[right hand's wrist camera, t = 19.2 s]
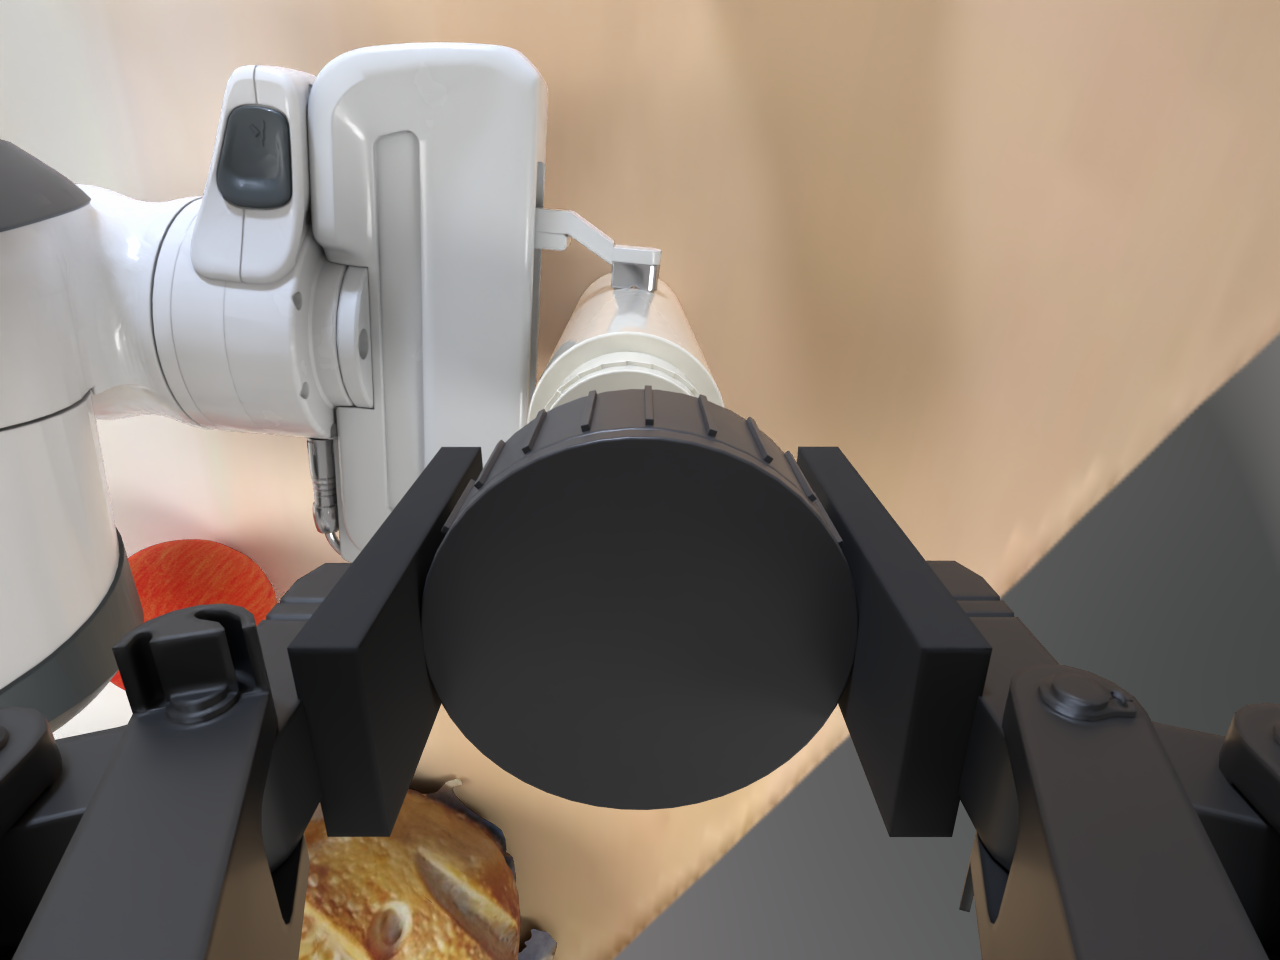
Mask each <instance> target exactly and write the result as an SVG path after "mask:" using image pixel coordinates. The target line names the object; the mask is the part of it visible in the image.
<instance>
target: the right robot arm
mask: <svg viewBox="0 0 1280 960" xmlns="http://www.w3.org/2000/svg"><path fill="white" fill-rule="evenodd" d="M797 464H798V466H799V468H800V469H801V471H802V473H803V475H804V476H805V478H806V480H807V482H808V483H809V485H810V487H811V489H812V490H813V492H815V494H816V495H817V497H818V499H819V501H820V502H821V504H822V506H823V507H824V509H825V511H826V513H827V514H828V516H829V518H830V520H831V521H832V523H833V525H834V527H835V528H836V530H837V532H838V533H839V535H840V537H841V539H842V540H843V543H844V545H845V547H842V548H841V550H842V552H843V554H844V556H845V558H846V560H847V562H848V565H849V569H850V572H851V575H852V578H853V581H854V585H855V589H856V595H857V602H858V609H859V627H858V637H857V644H856V651H855V659H854V664H853V667H852V670H851V674H850V677H849V680H848V683H847V685H846V687H845V689H844V692H843V694H842V696H841V698H840V700H839V702H838V704H839V707H840V709H841V712H842V715H843V717H844V720H845V722H846V725H847V728H848V730H849V733H850V735H851V738H852V740H853V743H854V746H855V748H856V751H857V753H858V756H859V759H860V761H861V764H862V766H863V769H864V771H865V774H866V777H867V779H868V782H869V785H870V787H871V790H872V792H873V795H874V797H875V800H876V803H877V805H878V808H879V810H880V813H881V816H882V818H883V821H884V823H885V826H886V829H887V831H888V834H889V836H890V837H952V834H953V830H954V825H955V820H956V816H957V811H958V806H959V802H960V800H961V802H962V804H963V806H964V808H965V809H966V811H967V813H968V815H969V817H970V819H971V821H972V823H973V825H974V827H975V828H976V835H975V839H974V843H973V848H972V852H971V856H970V861H969V865H968V869H967V874H966V878H965V882H964V887H963V891H962V896H961V902H960V910H963V911H967V912H970V908H971V904H972V900H973V896H974V898H975V906H976V915H977V923H978V931H979V940H980V948H981V956H982V960H1280V705H1279V704H1272V703H1261V704H1251V705H1246V706H1244V707H1243V708H1241V709H1240V710H1238V711H1237V712H1235V714H1234V716H1233V719H1232V722H1231V724H1230V727H1229V730H1228V732H1227V735H1226V737H1224V736H1219V735H1214V734H1209V733H1204V732H1199V731H1194V730H1189V729H1184V728H1179V727H1174V726H1169V725H1164V724H1160V723H1156V722H1153V721H1151V719H1150V717H1149V715H1148V713H1147V712H1146V711H1145V710H1144V708H1143V707H1142V706H1141V704H1140V703H1139V702H1138V701H1137V699H1136V698H1135V697H1134V696H1132V695H1131V694H1129V693H1128V692H1127V691H1125V690H1124V689H1122V688H1121V687H1119V686H1118V685H1117V684H1115V683H1113V682H1111V681H1109V680H1107V679H1104V678H1102V677H1100V676H1098V675H1096V674H1093V673H1091V672H1088V671H1085V670H1081V669H1077V668H1073V667H1069V666H1065V665H1060V664H1059V663H1058V662H1057V661H1056V660H1055V659H1054V658H1053V657H1052V655H1051V654H1050V653H1049V652H1048V651H1047V650H1046V649H1045V648H1044V646H1043V645H1042V644H1041V643H1040V642H1039V641H1038V640H1037V638H1036V637H1035V636H1034V635H1033V634H1032V633H1031V632H1030V631H1029V629H1028V628H1027V627H1026V626H1025V625H1024V624H1023V623H1022V621H1021V620H1020V619H1019V618H1018V617H1014V613H1013V611H1012V610H1011V609H1010V608H1009V607H1008V606H1007V604H1006V603H1005V602H1004V601H1000V597H999V595H998V594H997V593H996V592H995V591H994V590H993V589H992V588H991V586H990V585H989V584H988V583H987V582H986V581H985V580H984V578H983V577H981V576H979V575H978V574H976V573H974V572H973V571H971V570H969V569H968V568H966V567H964V566H962V565H961V564H959V563H957V562H956V561H925V559H924V558H923V557H922V556H921V554H920V553H919V552H918V550H917V549H916V548H915V546H914V545H913V544H912V543H911V541H910V540H909V539H908V537H907V536H906V535H905V533H904V532H903V531H902V530H901V528H900V527H899V526H898V524H897V523H896V522H895V520H894V519H893V518H892V517H891V515H890V514H889V513H888V511H887V510H886V509H885V507H884V506H883V505H882V504H881V502H880V501H879V500H878V498H877V497H876V496H875V494H874V493H873V492H872V491H871V489H870V488H869V487H868V485H867V484H866V483H865V481H864V480H863V479H862V478H861V476H860V475H859V474H858V472H857V471H856V470H855V468H854V467H853V466H852V465H851V463H850V462H849V461H848V459H847V458H846V457H845V455H844V454H843V453H842V452H841V450H840V449H839V448H838V447H798V457H797ZM482 470H483V463H482V451H481V447H441V448H440V450H439V451H438V452H437V454H436V455H435V456H434V457H433V459H432V460H431V461H430V463H429V464H428V465H427V467H426V468H425V469H424V470H423V472H422V473H421V474H420V476H419V477H418V478H417V480H416V481H415V482H414V483H413V485H412V486H411V487H410V489H409V490H408V491H407V493H406V494H405V495H404V496H403V498H402V499H401V500H400V502H399V503H398V504H397V506H396V507H395V508H394V509H393V511H392V512H391V513H390V515H389V516H388V517H387V519H386V520H385V521H384V522H383V524H382V525H381V526H380V528H379V529H378V530H377V532H376V533H375V534H374V535H373V537H372V538H371V539H370V541H369V542H368V543H367V545H366V546H365V547H364V548H363V550H362V551H361V552H360V554H359V555H358V556H357V558H356V559H355V560H354V561H353V563H325V564H323V565H322V566H320V567H318V568H317V569H315V570H313V571H311V572H310V573H308V574H306V575H305V576H303V577H301V578H300V579H298V580H297V581H296V582H295V583H294V584H293V585H292V587H291V588H290V589H289V590H288V591H287V592H286V593H285V595H284V596H283V597H282V598H281V599H280V603H277V604H276V605H275V606H274V607H273V608H272V609H271V611H270V612H269V613H268V614H267V615H266V620H262V621H261V622H260V623H259V624H258V625H257V627H256V622H255V618H254V615H253V614H252V613H251V612H249V611H248V610H246V609H245V608H244V607H241V606H235V605H230V604H207V605H197V606H193V607H188V608H184V609H179V610H175V611H172V612H169V613H166V614H164V615H161V616H159V617H156V618H153V619H151V620H148V621H146V622H145V623H143V624H141V625H140V626H138V627H136V628H135V629H133V630H131V631H130V632H128V633H126V634H125V635H124V636H123V637H122V638H121V639H120V640H119V641H118V642H117V643H116V644H115V645H114V647H113V648H112V650H113V654H114V657H115V660H116V663H117V666H118V669H119V672H120V675H121V678H122V681H123V685H124V688H125V691H126V694H127V697H128V700H129V703H130V706H131V709H132V712H133V715H132V717H131V719H130V721H129V723H128V725H125V726H121V727H117V728H112V729H107V730H102V731H97V732H92V733H87V734H82V735H77V736H72V737H67V738H62V739H57V740H55V739H54V737H53V734H52V731H51V729H50V726H49V723H48V721H47V718H46V716H45V715H43V714H42V713H40V712H39V711H37V710H36V709H34V708H26V707H15V706H11V707H5V708H0V960H298V958H299V950H300V942H301V933H302V925H303V917H304V908H305V900H306V892H307V884H308V875H309V867H310V861H309V854H308V848H307V843H306V839H305V835H304V831H305V830H306V828H307V826H308V824H309V822H310V820H311V818H312V816H313V814H314V812H315V810H316V809H317V807H318V805H319V803H320V804H321V809H322V813H323V818H324V823H325V827H326V832H327V837H390V835H391V833H392V830H393V827H394V825H395V822H396V820H397V817H398V815H399V812H400V809H401V807H402V804H403V802H404V799H405V796H406V794H407V791H408V789H409V786H410V783H411V781H412V778H413V776H414V773H415V770H416V768H417V765H418V763H419V760H420V757H421V755H422V752H423V750H424V747H425V744H426V742H427V739H428V737H429V734H430V732H431V729H432V726H433V724H434V721H435V719H436V716H437V713H438V711H439V708H440V706H441V701H440V700H439V698H438V696H437V693H436V691H435V689H434V686H433V684H432V681H431V679H430V677H429V674H428V670H427V666H426V662H425V655H424V648H423V640H422V633H421V622H420V618H421V601H422V596H423V591H424V587H425V582H426V577H427V574H428V572H429V569H430V567H431V564H432V562H433V559H434V556H435V554H436V552H437V550H438V548H439V546H440V544H441V543H442V541H443V539H444V537H445V536H446V534H445V533H443V532H441V530H442V528H443V526H444V524H445V523H446V521H447V519H448V518H449V516H450V514H451V513H452V511H453V509H454V507H455V506H456V504H457V502H458V501H459V499H460V497H461V495H462V494H463V492H464V490H465V489H466V487H467V485H468V483H469V482H470V480H471V479H472V480H474V481H476V480H477V479H478V477H479V475H480V473H481V472H482Z"/></svg>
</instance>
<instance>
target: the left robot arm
mask: <svg viewBox="0 0 1280 960" xmlns="http://www.w3.org/2000/svg"><path fill="white" fill-rule="evenodd" d="M547 113H548V87H547V84H546V82H545V80H544V79H543V77H542V76H541V74H540V72H539V71H538V70H537V68H536V67H535V66H534V65H533V64H532V62H531V61H530V60H529V59H528V58H526V57H525V56H524V55H523V54H522V53H521V52H519V51H517V50H516V49H513V48H510V47H506V46H499V45H490V44H477V43H450V42H430V43H404V44H389V45H378V46H370V47H363V48H359V49H355V50H351V51H349V52H346V53H343V54H341V55H339V56H338V57H336V58H334V59H333V60H331V61H330V62H329V63H328V64H326V65H325V66H324V68H323V69H322V70H321V71H320V72H319V74H318V75H317V76H315V75H312V74H309V73H306V72H303V71H299V70H295V69H290V68H284V67H277V66H267V65H246V66H241V67H239V68H237V69H236V70H235V71H234V72H233V73H232V75H231V77H230V78H229V81H228V83H227V86H226V90H225V94H224V99H223V104H222V110H221V115H220V120H219V126H218V131H217V136H216V141H215V146H214V151H213V156H212V161H211V165H210V170H209V174H208V178H207V183H206V187H205V191H204V195H203V196H194V197H186V198H180V199H176V200H171V201H167V202H145V201H140V200H136V199H133V198H130V197H128V196H125V195H123V194H120V193H118V192H115V191H113V190H109V189H105V188H101V187H97V186H91V185H83V184H74V183H73V182H71V181H70V180H69V179H67V178H66V177H65V176H63V175H62V174H60V173H59V172H57V171H56V170H54V169H53V168H51V167H49V166H48V165H46V164H45V163H43V162H41V161H40V160H38V159H37V158H35V157H33V156H32V155H30V154H29V153H27V152H25V151H24V150H22V149H20V148H19V147H17V146H16V145H14V144H12V143H10V142H8V141H4V140H1V139H0V708H5V707H11V706H15V707H26V708H34V709H36V710H37V711H39V712H40V713H42V714H43V715H45V716H46V718H47V721H48V723H49V726H50V729H51V731H52V733H53V732H54V731H56V730H57V729H59V728H60V727H62V726H63V725H64V724H66V723H67V722H68V721H69V720H71V719H72V718H73V717H74V716H76V715H77V714H78V713H79V712H80V711H82V710H83V709H84V708H85V707H86V706H87V705H88V704H89V703H90V702H91V701H92V700H93V699H94V698H95V697H96V696H97V695H98V694H99V693H100V692H101V691H102V690H103V689H104V687H105V686H106V685H107V684H108V683H109V682H110V680H111V679H112V678H113V677H114V676H115V675H116V673H117V672H118V671H119V669H118V666H117V663H116V660H115V657H114V654H113V650H112V648H113V647H114V645H115V644H116V643H117V642H118V641H119V640H120V639H121V638H122V637H123V636H124V635H125V634H126V633H128V632H130V631H131V630H133V629H135V628H136V627H138V626H140V625H141V624H143V623H144V612H143V608H142V605H141V601H140V598H139V595H138V591H137V588H136V585H135V582H134V578H133V575H132V572H131V568H130V565H129V561H128V558H127V555H126V551H125V548H124V545H123V541H122V538H121V535H120V533H119V532H118V530H117V528H116V526H115V522H114V516H113V511H112V505H111V500H110V494H109V489H108V483H107V478H106V472H105V467H104V461H103V456H102V450H101V445H100V440H99V434H98V429H97V423H96V420H116V419H122V418H128V417H133V416H137V415H148V414H153V415H160V416H165V417H169V418H172V419H175V420H177V421H180V422H182V423H185V424H188V425H191V426H194V427H198V428H203V429H212V430H224V431H237V432H249V433H261V434H273V435H282V436H294V437H307V446H308V455H309V467H310V474H311V479H312V482H313V487H314V488H313V489H314V499H315V501H314V503H313V517H314V522H315V526H316V528H317V531H318V532H320V533H323V534H325V536H326V538H327V540H328V542H329V544H330V545H331V546H332V548H333V549H334V550H335V551H336V552H337V553H338V554H340V555H341V556H342V558H343V559H344V560H346V561H348V562H351V563H353V561H354V560H355V559H356V558H357V556H358V555H359V554H360V552H361V551H362V550H363V548H364V547H365V546H366V545H367V543H368V542H369V541H370V539H371V538H372V537H373V535H374V534H375V533H376V532H377V530H378V529H379V528H380V526H381V525H382V524H383V522H384V521H385V520H386V519H387V517H388V516H389V515H390V513H391V512H392V511H393V509H394V508H395V507H396V506H397V504H398V503H399V502H400V500H401V499H402V498H403V496H404V495H405V494H406V493H407V491H408V490H409V489H410V487H411V486H412V485H413V483H414V482H415V481H416V480H417V478H418V477H419V476H420V474H421V473H422V472H423V470H424V469H425V468H426V467H427V465H428V464H429V463H430V461H431V460H432V459H433V457H434V456H435V455H436V454H437V452H438V451H439V450H440V448H441V447H481V451H482V463H483V468H484V466H485V464H486V463H487V461H488V459H489V457H490V455H491V454H492V452H493V450H494V448H495V447H496V445H497V443H498V442H499V441H500V440H503V441H504V442H506V441H507V440H508V439H509V438H510V437H511V436H512V435H513V434H515V433H516V432H517V431H518V430H520V429H521V428H522V427H524V426H525V425H527V418H528V411H529V406H530V402H531V399H532V395H533V393H534V391H535V389H536V380H537V356H538V332H539V308H540V283H541V259H542V249H548V250H559V251H563V250H565V249H566V248H567V247H568V246H569V245H570V244H571V237H572V238H574V239H575V240H577V241H578V242H579V243H581V244H582V245H584V246H585V247H586V248H588V249H589V250H591V251H592V252H593V253H595V254H596V255H598V256H599V257H601V258H602V259H603V260H605V261H606V262H608V263H609V264H610V265H612V280H611V287H612V288H622V289H625V288H631V287H633V286H634V285H635V286H636V287H637V288H638V289H640V290H645V291H657V286H658V277H659V269H660V258H661V250H660V249H655V248H648V247H638V246H628V245H617V244H615V241H614V240H613V239H611V238H610V237H609V236H607V235H606V234H605V233H603V232H602V231H600V230H599V229H598V228H596V227H595V226H594V225H592V224H591V223H590V222H588V221H587V220H585V219H584V218H583V217H581V216H580V215H579V214H577V213H576V212H575V211H573V210H565V209H555V208H545V207H544V186H545V162H546V138H547ZM612 262H613V263H612ZM337 531H339V538H340V541H339V539H338V538H337V536H336V534H335V532H337Z"/></svg>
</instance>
